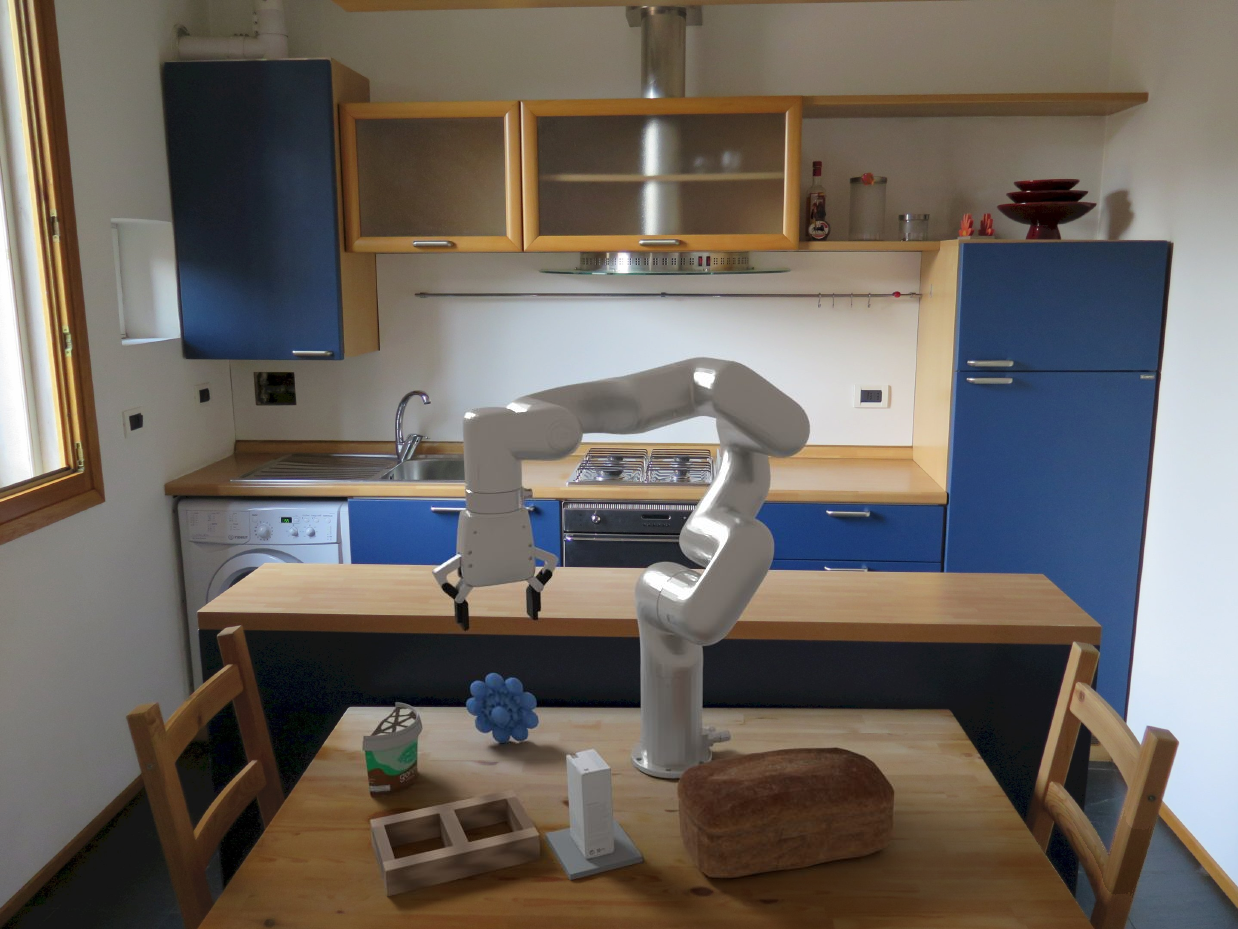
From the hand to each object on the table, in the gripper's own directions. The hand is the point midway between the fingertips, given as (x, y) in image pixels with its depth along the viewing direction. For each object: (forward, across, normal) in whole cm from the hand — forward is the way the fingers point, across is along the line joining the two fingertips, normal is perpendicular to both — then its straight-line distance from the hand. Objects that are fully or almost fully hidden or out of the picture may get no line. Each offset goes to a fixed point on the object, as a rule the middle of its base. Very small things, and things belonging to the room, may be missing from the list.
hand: (498, 622), depth 137 cm
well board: (+28, +9, +7) cm, 31 cm away
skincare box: (+28, -8, +14) cm, 32 cm away
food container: (+28, +12, -14) cm, 34 cm away
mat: (+28, -8, +14) cm, 33 cm away
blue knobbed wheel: (+28, -5, -19) cm, 35 cm away
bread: (+29, -32, +23) cm, 49 cm away
